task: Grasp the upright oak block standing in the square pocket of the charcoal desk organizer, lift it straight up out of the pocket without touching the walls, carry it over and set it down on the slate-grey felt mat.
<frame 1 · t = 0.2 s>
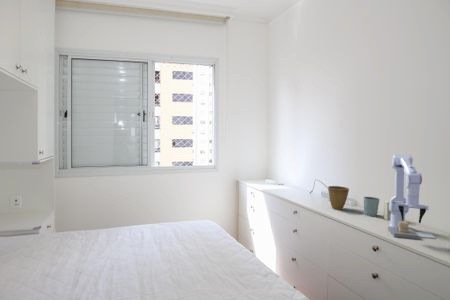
hand: (411, 221, 169), 10 cm above the table, tool pointing down, fingers open, 7 cm apart
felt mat: (423, 235, 179), on the table
plant pot: (337, 208, 241), on the table
skincare box: (389, 219, 213), on the table
teal tapered pot: (370, 215, 224), on the table
oak block: (403, 228, 180), in the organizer
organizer: (402, 234, 180), on the table
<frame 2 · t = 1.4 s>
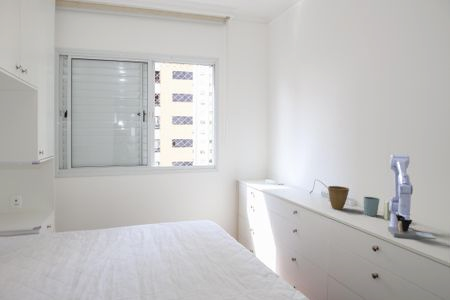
hand: (403, 229, 180), 3 cm above the table, tool pointing down, fingers open, 7 cm apart
nothing on the table moved.
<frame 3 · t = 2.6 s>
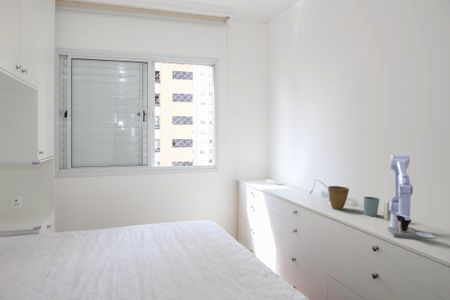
hand: (402, 229, 180), 3 cm above the table, tool pointing down, fingers closed on oak block, 4 cm apart
oak block: (403, 228, 180), in the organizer, touching gripper
everything else where it was.
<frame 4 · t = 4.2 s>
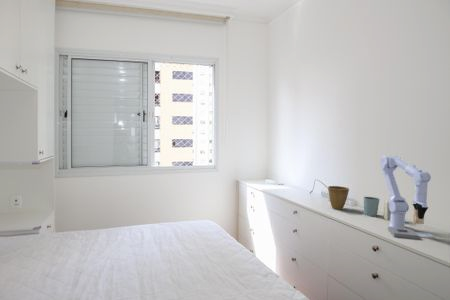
hand: (419, 217, 179), 10 cm above the table, tool pointing down, fingers closed on oak block, 4 cm apart
oak block: (418, 216, 179), point 10 cm above the table, touching gripper
everything else where it was.
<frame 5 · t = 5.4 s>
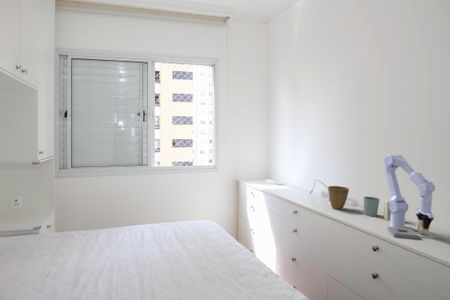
hand: (424, 227, 179), 4 cm above the table, tool pointing down, fingers closed on oak block, 4 cm apart
oak block: (423, 226, 179), point 5 cm above the table, touching gripper
everything else where it was.
when the fingers open (4 cm above the table, at t = 6.3 s): oak block stays where it is, resting on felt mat.
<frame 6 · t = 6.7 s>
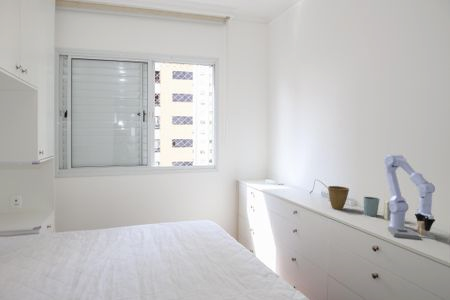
hand: (423, 228, 179), 4 cm above the table, tool pointing down, fingers open, 7 cm apart
oak block: (423, 228, 179), on the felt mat, point 4 cm above the table
everything else where it was.
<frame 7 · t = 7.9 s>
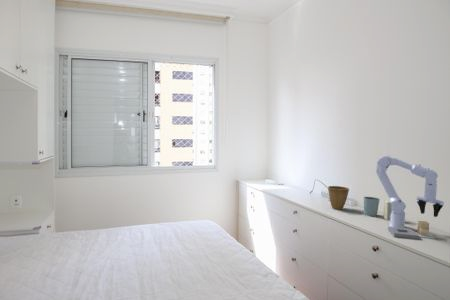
hand: (429, 215, 184), 10 cm above the table, tool pointing down, fingers open, 7 cm apart
nothing on the table moved.
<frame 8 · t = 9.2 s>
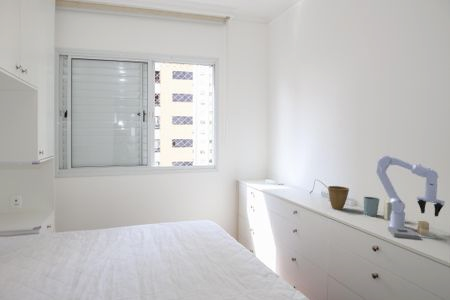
hand: (429, 214, 185), 10 cm above the table, tool pointing down, fingers open, 7 cm apart
nothing on the table moved.
at the end: oak block inside the target area (0.4 cm from its centre), point 4.1 cm above the table; oak block tilted 0°; the gripper is holding nothing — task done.
